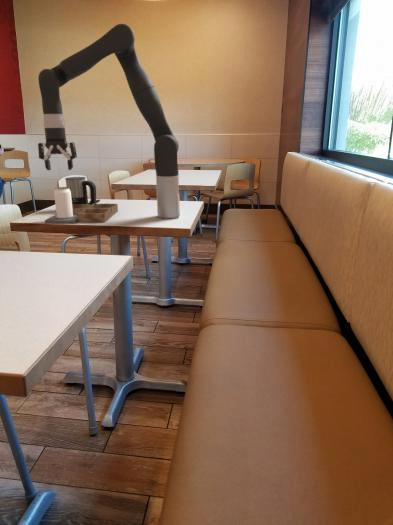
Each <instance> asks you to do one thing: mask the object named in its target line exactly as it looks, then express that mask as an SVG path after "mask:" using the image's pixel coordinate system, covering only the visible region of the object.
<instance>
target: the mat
mask: <svg viewBox="0 0 393 525" xmlns="http://www.w3.org/2000/svg"><path fill="white" fill-rule="evenodd" d="M76 223H78V222H77V215H73V217H72V218H67V219H59V218H58V217H57V214H54V215H52V216H51V217H48V218H47V219H44V224H76Z"/></svg>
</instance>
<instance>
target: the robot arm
mask: <svg viewBox="0 0 393 525" xmlns="http://www.w3.org/2000/svg"><path fill="white" fill-rule="evenodd" d="M135 41H136V38H135V33H134V31H133V29H132V27H131V26H129V25H127V24H126V23H118V24H116V25H114V26H113V27H111V29H109V30H108V31H107V32H106V33H105V34H103V35H102V36H101V37H99V38H98V39H96V40H95V41H93V43H91V44H89V45H88V46H86V47H84V48H82V49H80V50H79V51H77V52H75V53H73V54H71V55H69V56H68V57H66V58H64V59H63V60H61V61H60V62H59V63H58V64H57V65H56V66H54V67H52V68H44V69H42V70H41V71H40V72H39V74H38V76H37V77H38V85H39V86H38V87H39V92H40V97H41V106H42V114H43V115H42V116H43V120H42V121H43V127H44V128H43V129H44V135H45V138H44V139H45V143H44V142H38V144H37V146H38V149H37V150H38V158H39V159H40V160H43V161H44V168H45V169H46V171H51V170H52V168H51V160H50V159H51V156H52V155H63V156H64V157H65V158H66V159H67V170H68V171H72V170H73V168H74V162H73V161H74V159H76V158H77V157H78V156H77V150H76V149H77V148H76V144H75V142H73V141H72V142H67V137H66V136H67V134H66V127H65V119H64V114H63V106H62V101H61V97H60V88H61V87H63V86H64V85H65V84H67V83H68V82H70V81H72V80H74V79H76V78H78V77H79V76H81V75H83V74H86V73H87V72H88V71H90V70H91V69H92V68H93V67H94V66H96V65H97V64H98V63H100V62H101V61H102V60H104V59H106V58H107V57H108V56H111V55H114V56H115V57H116V58H117V61H118V62H119V64H120V66H121V68H122V70H123V72H124V76H125V79H126V81H127V84H128V87H129V90H130V92H131V94H132V97H133V100H134V102H135V104H136V107H137V109H138V111H139V112H140V114H141V116H142V117H143V119H144V121H146V123H147V124H148V125H147V126H149V129H150V130H151V133H152V135H153V139H154V141H155V142H154V145H153V154H154V155H153V156H154V168H155V175H156V176H155V177H156V178H155V179H156V180H155V181H156V204H157V205H156V206H157V208H156V209H157V217H158V218H159V219H177V218H178V219H179V218H180V216H181V215H180V214H181V212H180V210H181V208H180V206H181V205H180V192H179V191H180V189H179V188H180V187H179V186H180V184H179V165H178V164H179V163H178V151H179V148H180V146H179V142H178V140H177V138H176V136H175V135H174V133H173V131H172V130H171V127H170V125H169V123H168V121H167V119H166V116H165V112H164V109H163V106H162V102H161V101H160V98H159V95H158V92H157V90H156V88H155V85H154V83H153V82H152V80H151V78H150V77H149V74H147V72H146V70H145V69H144V68H143V66H142V64H141V61H140V59H139V56H138V54H137V51H136V48H135ZM46 148H47V151H46V153H45V149H46ZM67 148H69V149H70V152H71V153H70V152H69V151H68V150H67Z"/></svg>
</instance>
